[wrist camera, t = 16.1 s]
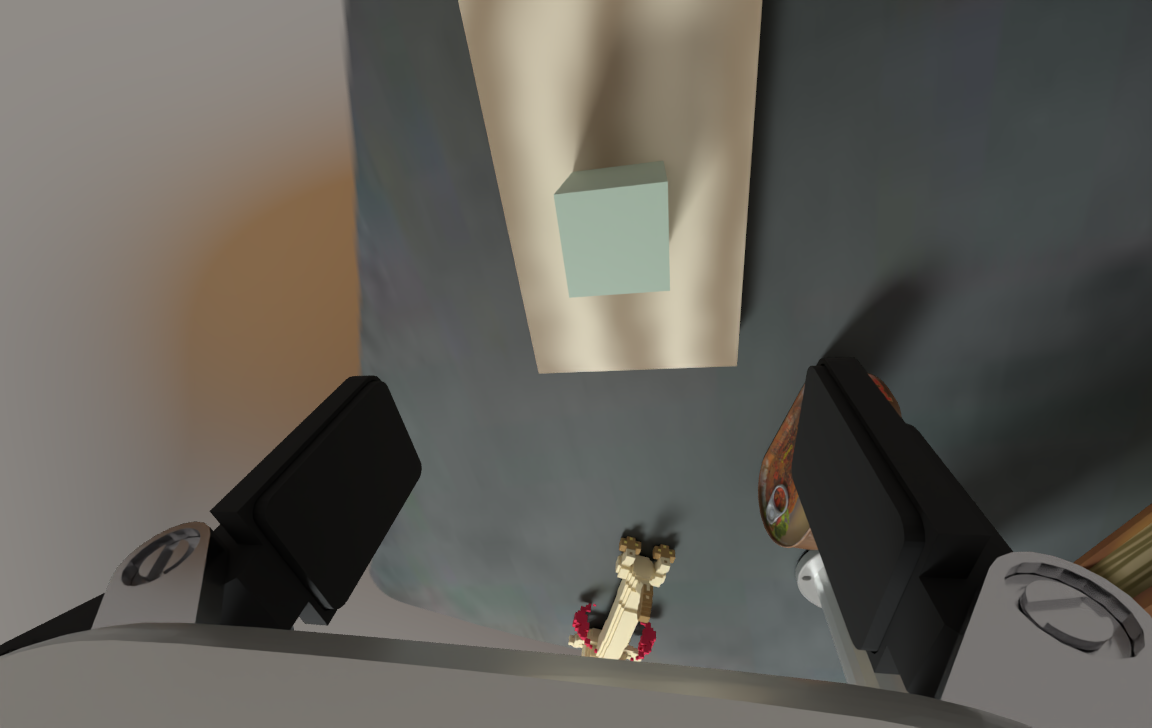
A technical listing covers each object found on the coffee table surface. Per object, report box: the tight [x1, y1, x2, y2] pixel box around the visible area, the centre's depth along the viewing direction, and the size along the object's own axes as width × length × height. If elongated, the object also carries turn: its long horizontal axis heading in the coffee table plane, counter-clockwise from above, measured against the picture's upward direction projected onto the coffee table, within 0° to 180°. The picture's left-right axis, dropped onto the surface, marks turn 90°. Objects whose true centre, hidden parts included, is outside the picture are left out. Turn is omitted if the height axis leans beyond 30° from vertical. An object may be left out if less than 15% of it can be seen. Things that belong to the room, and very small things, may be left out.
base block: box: [458, 0, 762, 373], centre depth 26 cm, size 14×22×3 cm, turn 8°
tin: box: [758, 373, 902, 550], centre depth 32 cm, size 15×3×8 cm, turn 171°
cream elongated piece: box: [568, 536, 675, 662], centre depth 49 cm, size 10×9×25 cm
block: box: [554, 161, 670, 298], centre depth 23 cm, size 5×5×6 cm
